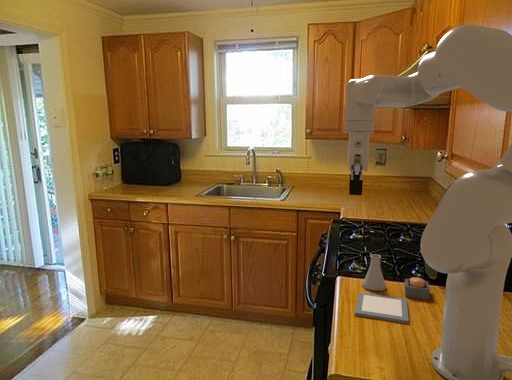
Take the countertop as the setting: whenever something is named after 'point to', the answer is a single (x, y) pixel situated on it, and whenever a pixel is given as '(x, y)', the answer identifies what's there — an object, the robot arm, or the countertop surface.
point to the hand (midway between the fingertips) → (355, 191)
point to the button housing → (417, 290)
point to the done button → (417, 282)
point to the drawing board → (382, 307)
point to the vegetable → (430, 271)
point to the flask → (374, 275)
